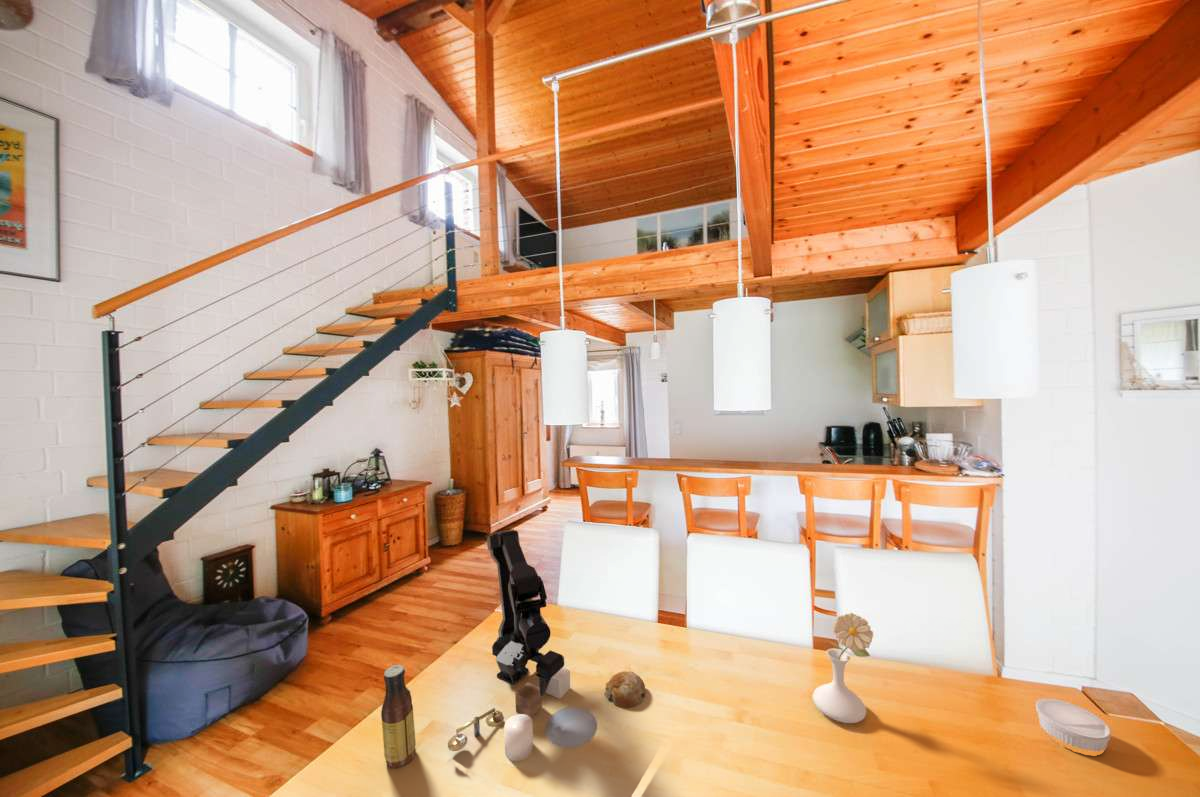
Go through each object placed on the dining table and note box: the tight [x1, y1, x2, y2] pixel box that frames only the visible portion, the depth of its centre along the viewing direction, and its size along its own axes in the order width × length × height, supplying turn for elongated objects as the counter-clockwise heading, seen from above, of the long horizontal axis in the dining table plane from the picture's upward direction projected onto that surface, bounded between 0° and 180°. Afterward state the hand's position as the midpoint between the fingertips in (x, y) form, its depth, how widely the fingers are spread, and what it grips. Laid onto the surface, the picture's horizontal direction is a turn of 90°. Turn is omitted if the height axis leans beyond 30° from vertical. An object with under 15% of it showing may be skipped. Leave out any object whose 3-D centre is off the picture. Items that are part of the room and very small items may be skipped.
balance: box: [447, 707, 504, 752], centre depth 99 cm, size 15×4×6 cm, turn 148°
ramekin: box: [1035, 698, 1112, 751], centre depth 95 cm, size 11×11×5 cm
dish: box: [544, 706, 598, 749], centre depth 101 cm, size 12×12×1 cm
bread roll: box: [604, 670, 646, 709], centre depth 111 cm, size 10×10×8 cm
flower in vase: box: [811, 612, 874, 724], centre depth 104 cm, size 13×11×25 cm
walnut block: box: [514, 681, 543, 719], centre depth 107 cm, size 4×4×6 cm
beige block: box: [545, 666, 571, 699], centre depth 113 cm, size 4×4×6 cm
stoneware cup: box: [503, 713, 534, 762], centre depth 95 cm, size 6×6×7 cm
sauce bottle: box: [380, 664, 417, 768], centre depth 95 cm, size 6×6×20 cm
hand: (528, 688), depth 107 cm, fingers open, 9 cm apart
